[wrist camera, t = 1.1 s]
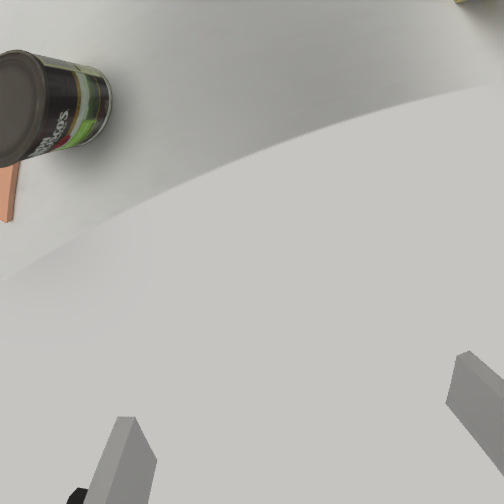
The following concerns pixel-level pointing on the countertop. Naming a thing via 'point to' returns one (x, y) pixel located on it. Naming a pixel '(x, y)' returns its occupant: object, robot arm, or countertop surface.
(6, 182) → the taller pad
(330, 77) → the countertop surface
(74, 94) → the coffee can
